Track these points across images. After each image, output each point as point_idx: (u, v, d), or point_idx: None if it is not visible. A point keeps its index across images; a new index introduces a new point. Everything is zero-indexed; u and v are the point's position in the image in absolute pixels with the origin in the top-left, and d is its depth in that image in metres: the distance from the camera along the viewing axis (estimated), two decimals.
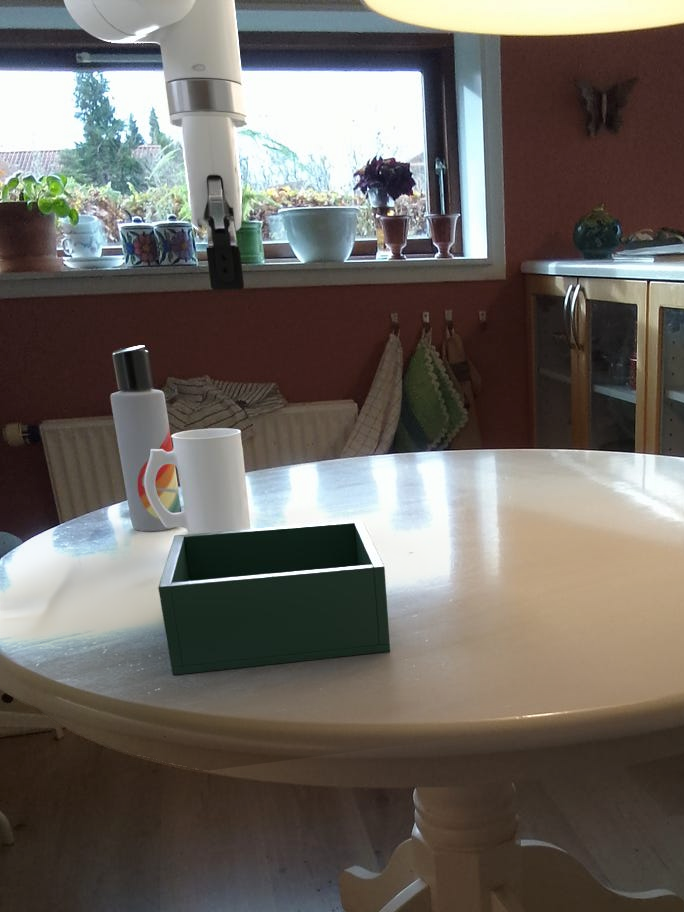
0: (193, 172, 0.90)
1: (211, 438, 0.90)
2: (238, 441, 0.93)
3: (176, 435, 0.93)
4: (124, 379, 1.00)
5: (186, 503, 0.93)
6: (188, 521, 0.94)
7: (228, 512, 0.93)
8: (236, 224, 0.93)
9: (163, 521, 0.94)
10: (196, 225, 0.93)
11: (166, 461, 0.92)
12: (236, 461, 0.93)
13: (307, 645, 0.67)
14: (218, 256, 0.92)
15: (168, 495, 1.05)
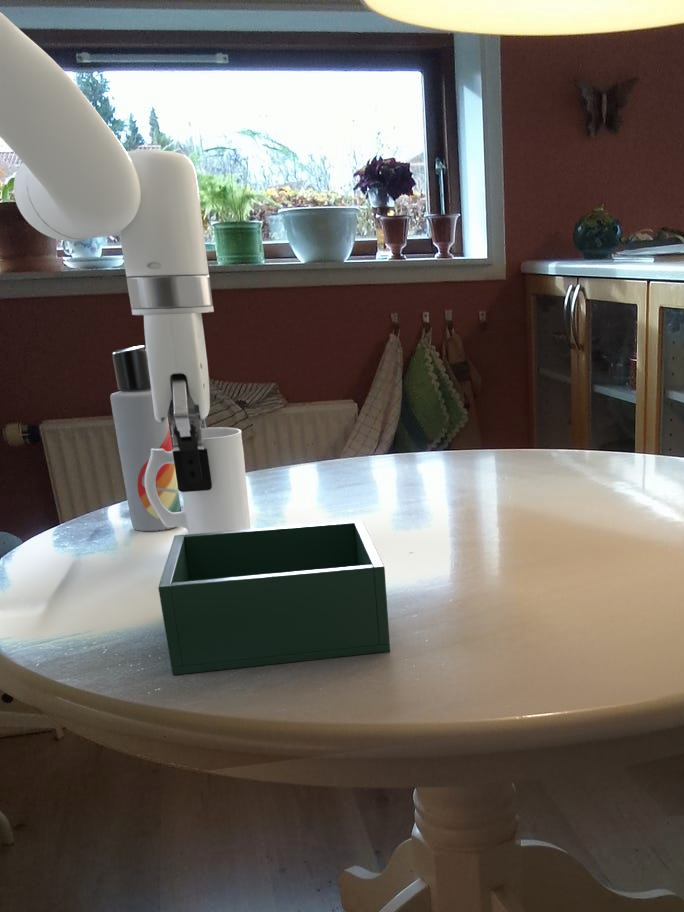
0: (155, 371, 0.85)
1: (212, 438, 0.90)
2: (239, 441, 0.93)
3: None
4: (124, 379, 1.00)
5: (186, 502, 0.93)
6: (188, 520, 0.94)
7: (229, 512, 0.93)
8: (202, 419, 0.89)
9: (163, 521, 0.94)
10: (160, 422, 0.88)
11: (167, 461, 0.92)
12: (237, 461, 0.93)
13: (307, 645, 0.67)
14: (185, 461, 0.89)
15: (168, 495, 1.05)
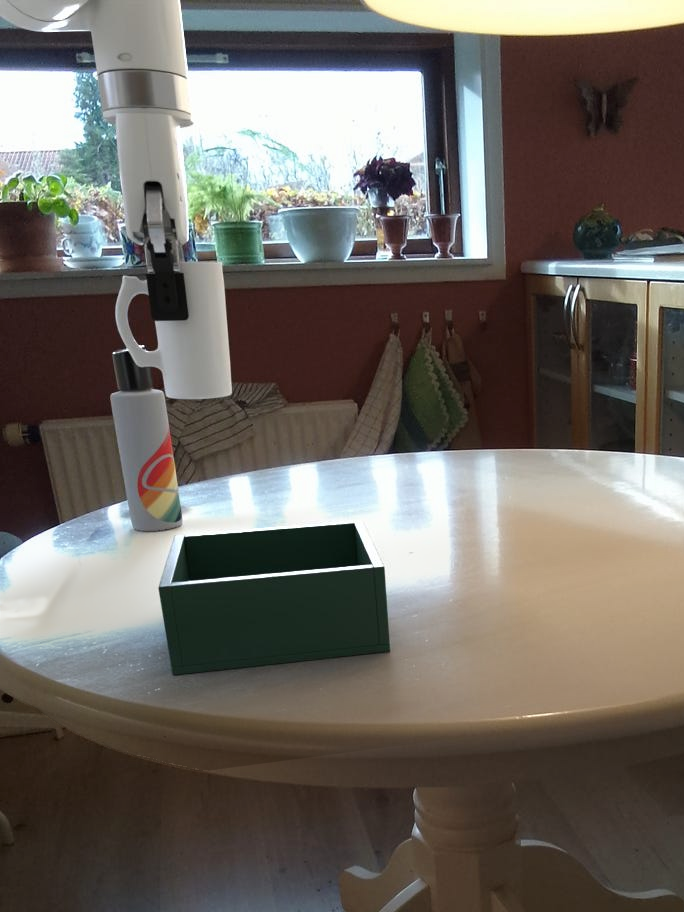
0: (128, 177, 0.78)
1: (189, 263, 0.83)
2: (219, 272, 0.85)
3: None
4: (124, 379, 1.00)
5: (161, 338, 0.86)
6: (163, 359, 0.87)
7: (207, 350, 0.86)
8: (179, 238, 0.81)
9: (135, 358, 0.86)
10: (132, 238, 0.80)
11: (140, 290, 0.84)
12: (216, 293, 0.85)
13: (307, 645, 0.67)
14: (160, 284, 0.81)
15: (168, 495, 1.05)
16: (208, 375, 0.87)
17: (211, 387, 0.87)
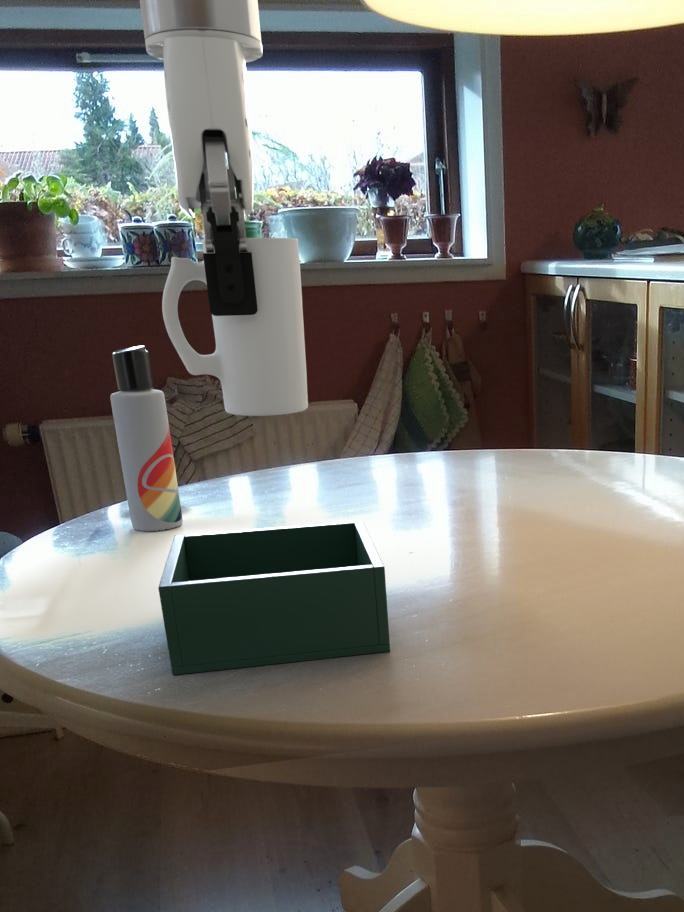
0: (181, 124, 0.58)
1: (259, 239, 0.63)
2: (295, 251, 0.66)
3: None
4: (124, 379, 1.00)
5: (221, 338, 0.66)
6: (223, 365, 0.67)
7: (280, 353, 0.66)
8: (246, 206, 0.62)
9: (188, 364, 0.67)
10: (186, 207, 0.61)
11: (194, 276, 0.65)
12: (292, 279, 0.66)
13: (307, 645, 0.67)
14: (221, 267, 0.62)
15: (168, 495, 1.05)
16: (280, 385, 0.67)
17: (285, 400, 0.68)
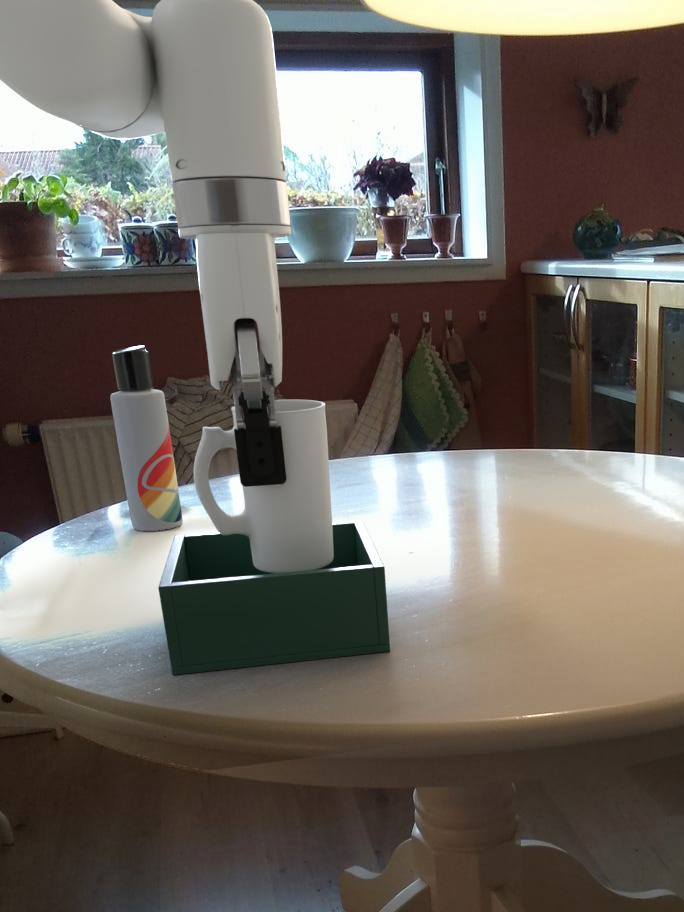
0: (214, 315, 0.60)
1: (288, 412, 0.65)
2: (323, 417, 0.67)
3: None
4: (124, 379, 1.00)
5: (250, 501, 0.68)
6: (252, 526, 0.69)
7: (308, 515, 0.68)
8: (276, 384, 0.64)
9: (218, 526, 0.68)
10: (218, 388, 0.63)
11: (225, 444, 0.67)
12: (320, 445, 0.67)
13: (307, 645, 0.67)
14: (252, 443, 0.64)
15: (168, 495, 1.05)
16: (308, 545, 0.69)
17: (312, 558, 0.70)
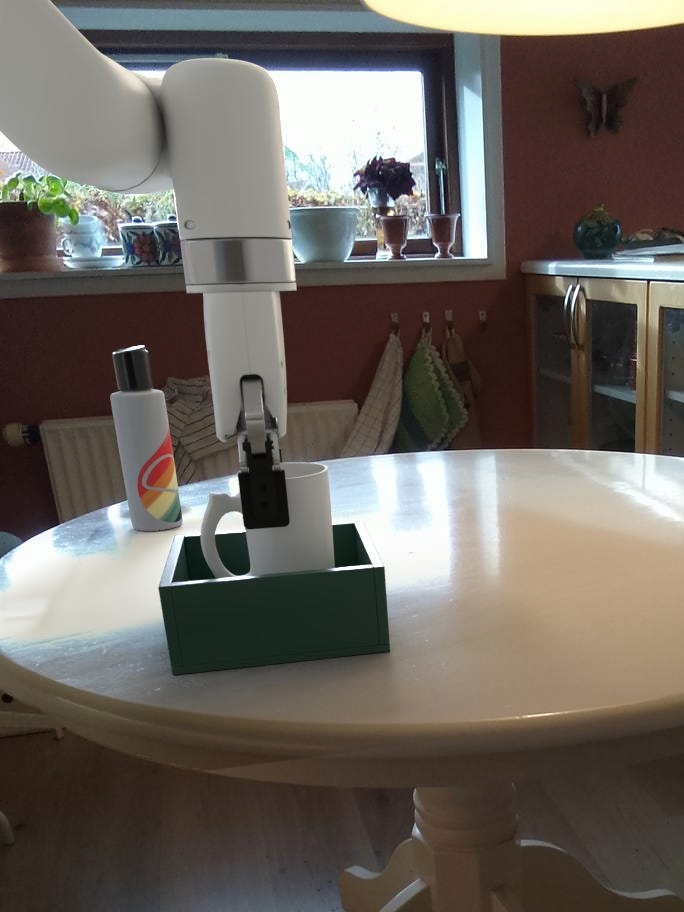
0: (220, 372, 0.62)
1: (292, 479, 0.67)
2: (326, 481, 0.69)
3: None
4: (124, 379, 1.00)
5: (255, 563, 0.70)
6: None
7: None
8: (281, 437, 0.65)
9: None
10: (223, 441, 0.64)
11: (230, 509, 0.69)
12: (323, 508, 0.69)
13: (307, 645, 0.67)
14: (256, 487, 0.64)
15: (168, 495, 1.05)
16: None
17: None
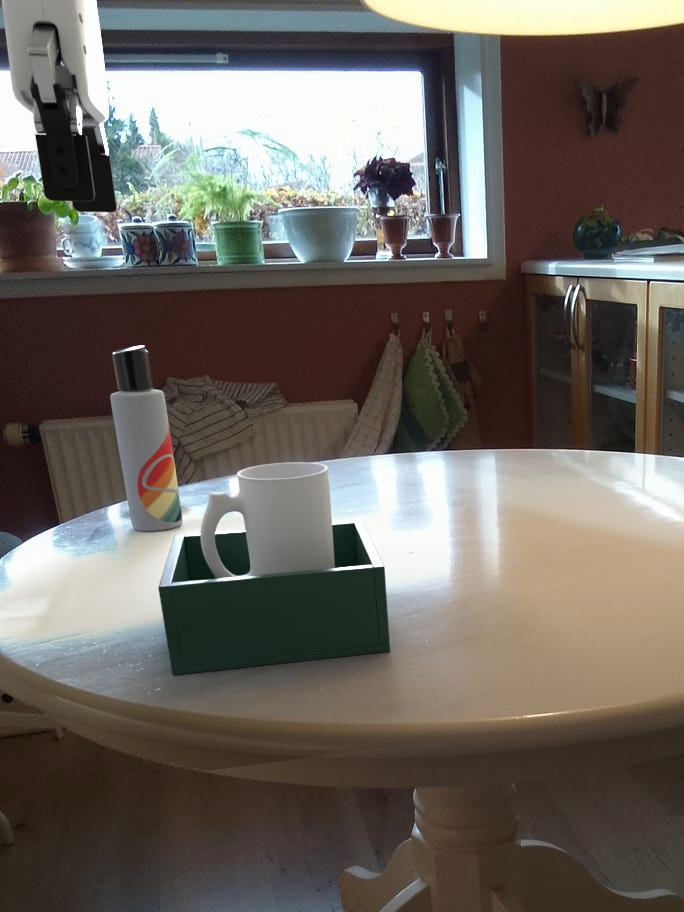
0: (12, 16, 0.60)
1: (292, 479, 0.67)
2: (326, 481, 0.69)
3: (242, 473, 0.70)
4: (124, 379, 1.00)
5: (255, 563, 0.70)
6: None
7: None
8: (84, 103, 0.63)
9: None
10: (22, 101, 0.62)
11: (231, 509, 0.69)
12: (323, 508, 0.69)
13: (307, 645, 0.67)
14: (53, 148, 0.62)
15: (168, 495, 1.05)
16: None
17: None
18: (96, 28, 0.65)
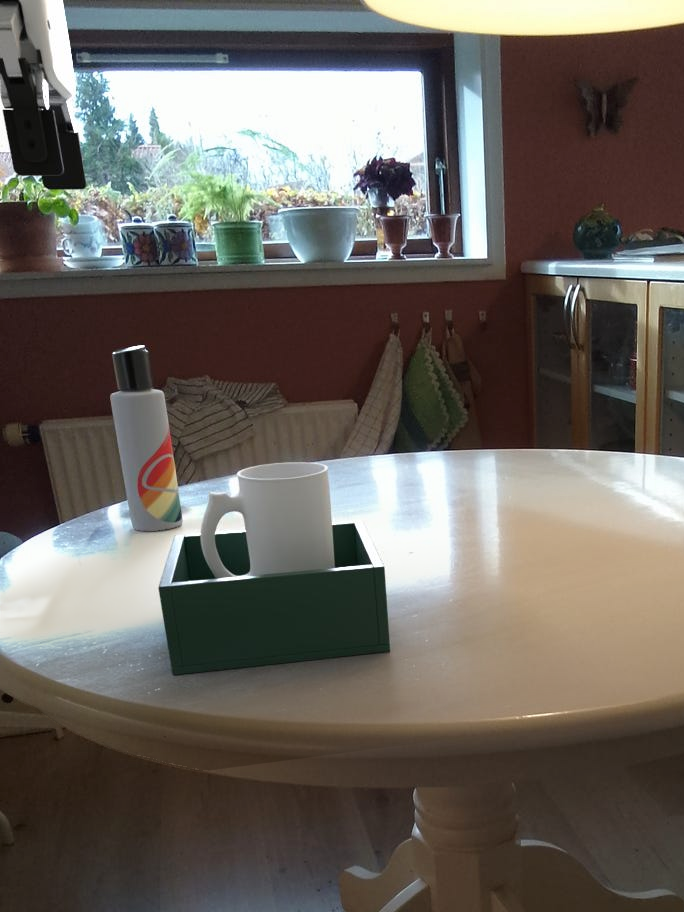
0: None
1: (292, 479, 0.67)
2: (326, 481, 0.69)
3: (242, 473, 0.70)
4: (124, 379, 1.00)
5: (255, 563, 0.70)
6: None
7: None
8: (50, 78, 0.64)
9: None
10: None
11: (231, 509, 0.69)
12: (323, 508, 0.69)
13: (307, 645, 0.67)
14: (21, 123, 0.63)
15: (168, 495, 1.05)
16: None
17: None
18: (59, 4, 0.65)
